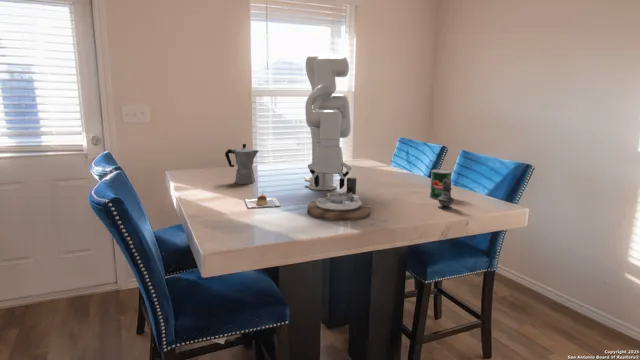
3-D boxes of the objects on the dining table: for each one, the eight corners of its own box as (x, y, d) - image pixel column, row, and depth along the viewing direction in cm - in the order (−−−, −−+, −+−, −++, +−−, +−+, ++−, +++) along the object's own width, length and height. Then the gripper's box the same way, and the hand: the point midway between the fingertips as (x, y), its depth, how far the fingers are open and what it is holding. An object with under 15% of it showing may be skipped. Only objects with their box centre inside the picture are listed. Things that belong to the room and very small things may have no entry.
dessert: (247, 210, 153) (247, 197, 152) (244, 202, 164) (244, 190, 163) (280, 208, 156) (280, 195, 155) (275, 200, 167) (275, 188, 166)
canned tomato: (444, 195, 177) (446, 169, 175) (453, 199, 169) (455, 172, 167) (426, 195, 176) (428, 169, 174) (434, 200, 168) (436, 172, 166)
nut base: (295, 215, 145) (295, 208, 145) (323, 201, 164) (323, 195, 164) (356, 224, 136) (356, 217, 135) (377, 208, 155) (378, 202, 155)
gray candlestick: (434, 206, 159) (436, 174, 157) (450, 205, 159) (452, 174, 157) (440, 210, 153) (442, 177, 151) (456, 210, 154) (458, 177, 151)
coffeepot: (258, 179, 205) (257, 142, 201) (260, 183, 196) (259, 144, 192) (225, 180, 201) (224, 143, 198) (226, 184, 192) (224, 145, 189)
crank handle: (352, 213, 139) (353, 192, 138) (308, 208, 145) (308, 187, 144) (372, 198, 161) (373, 179, 159) (333, 194, 167) (333, 175, 166)
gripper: (304, 143, 160) (304, 187, 163) (349, 145, 155) (348, 191, 158) (311, 141, 167) (310, 184, 170) (354, 143, 162) (353, 187, 165)
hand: (329, 187), depth 164 cm, fingers open, 9 cm apart
